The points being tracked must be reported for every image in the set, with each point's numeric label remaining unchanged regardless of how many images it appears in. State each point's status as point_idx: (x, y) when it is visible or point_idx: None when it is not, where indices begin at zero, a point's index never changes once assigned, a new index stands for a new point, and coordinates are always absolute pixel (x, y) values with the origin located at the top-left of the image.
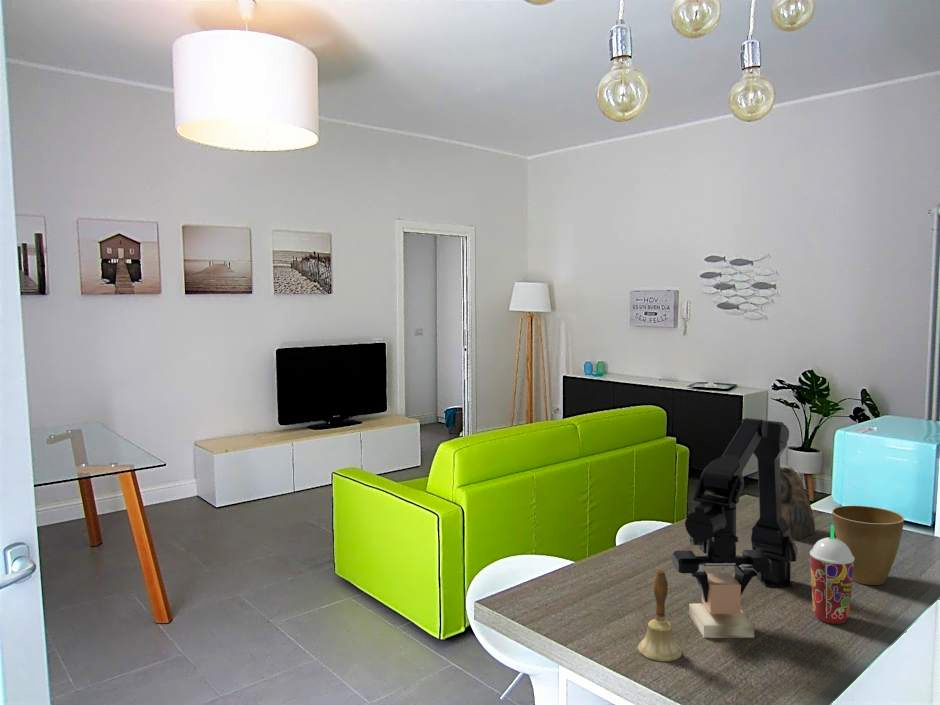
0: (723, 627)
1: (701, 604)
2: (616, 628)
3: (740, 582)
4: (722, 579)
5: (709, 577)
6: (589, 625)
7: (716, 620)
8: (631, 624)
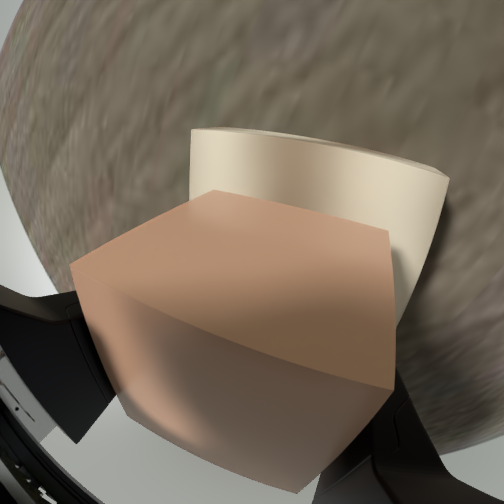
0: None
1: (245, 145)
2: (58, 193)
3: (318, 489)
4: (208, 428)
5: (119, 356)
6: (34, 174)
7: None
8: (75, 178)
